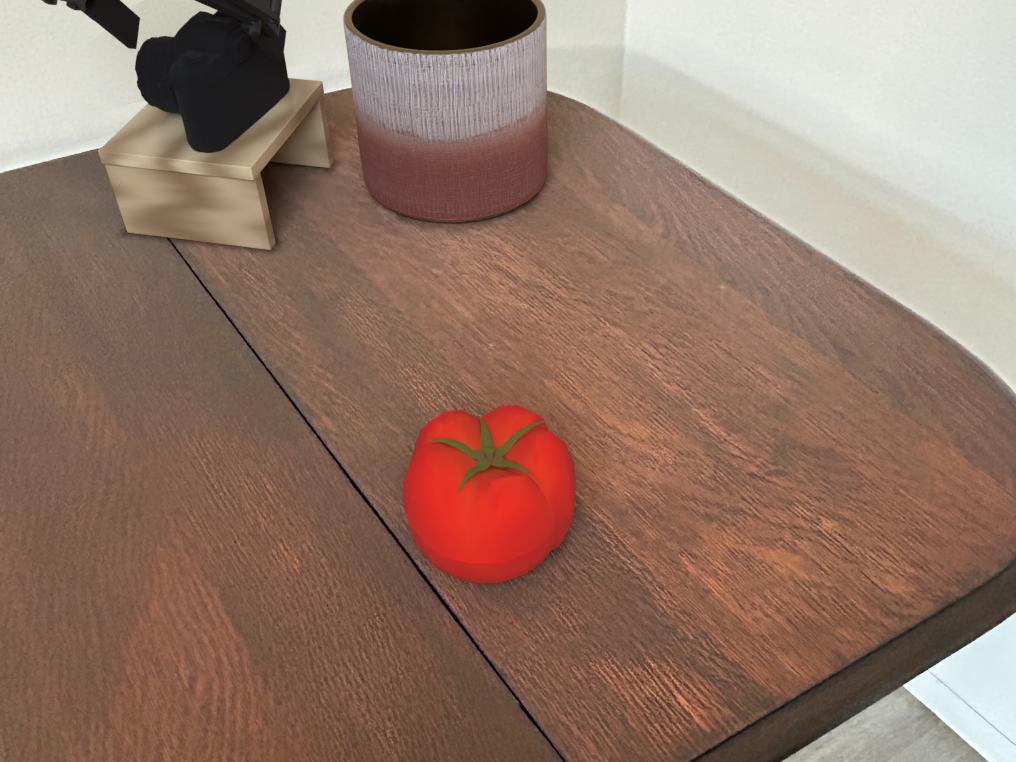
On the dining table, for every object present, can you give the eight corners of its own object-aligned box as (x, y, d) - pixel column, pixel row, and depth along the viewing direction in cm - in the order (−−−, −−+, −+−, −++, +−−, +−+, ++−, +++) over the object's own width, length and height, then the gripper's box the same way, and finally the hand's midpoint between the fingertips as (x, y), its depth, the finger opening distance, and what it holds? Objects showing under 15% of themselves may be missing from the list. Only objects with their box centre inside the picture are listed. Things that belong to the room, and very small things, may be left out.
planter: (379, 137, 106) (358, -28, 94) (550, 140, 105) (551, -26, 94) (350, 229, 94) (323, 53, 82) (544, 232, 93) (544, 56, 82)
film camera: (213, 72, 98) (189, -30, 91) (303, 86, 96) (286, -17, 89) (120, 143, 88) (85, 35, 81) (218, 161, 86) (191, 51, 79)
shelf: (125, 234, 93) (97, 150, 87) (205, 147, 104) (185, 67, 98) (269, 252, 91) (250, 167, 85) (335, 161, 102) (322, 80, 96)
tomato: (394, 601, 64) (377, 500, 57) (433, 470, 72) (422, 367, 65) (562, 619, 63) (565, 518, 56) (583, 484, 71) (588, 382, 64)
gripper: (-117, -60, 70) (70, 70, 91) (225, -32, 66) (337, 97, 87) (-105, -173, 69) (80, -16, 90) (240, -151, 66) (349, 7, 87)
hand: (206, 40), depth 89 cm, fingers open, 13 cm apart
